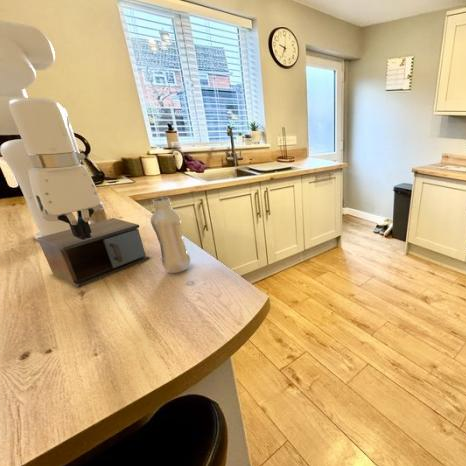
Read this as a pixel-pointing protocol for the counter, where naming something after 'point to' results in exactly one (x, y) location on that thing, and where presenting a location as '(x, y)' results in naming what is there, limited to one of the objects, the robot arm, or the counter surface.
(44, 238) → the cupboard
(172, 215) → the plastic bottle
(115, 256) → the sliding door
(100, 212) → the sprinkles bottle
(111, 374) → the counter surface
